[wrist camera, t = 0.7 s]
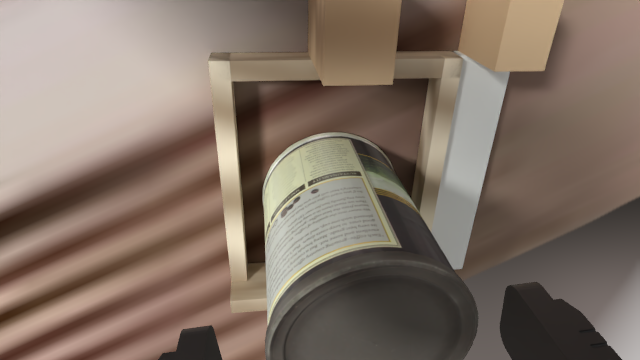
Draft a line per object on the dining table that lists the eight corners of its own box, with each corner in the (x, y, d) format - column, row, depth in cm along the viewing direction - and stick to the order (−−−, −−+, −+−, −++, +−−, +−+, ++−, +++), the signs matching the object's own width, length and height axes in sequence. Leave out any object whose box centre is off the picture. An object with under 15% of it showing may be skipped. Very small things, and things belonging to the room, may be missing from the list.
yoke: (201, -43, 24) (183, -35, 18) (465, -38, 26) (530, -30, 20) (233, 276, 35) (229, 346, 29) (414, 262, 37) (445, 326, 31)
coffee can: (414, 142, 31) (516, 274, 19) (373, 253, 36) (433, 415, 24) (275, 117, 29) (290, 250, 17) (250, 239, 34) (248, 411, 22)
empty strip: (465, -16, 26) (506, -6, 22) (520, -16, 27) (570, -6, 22) (416, 262, 37) (438, 305, 33) (456, 259, 38) (482, 301, 33)
